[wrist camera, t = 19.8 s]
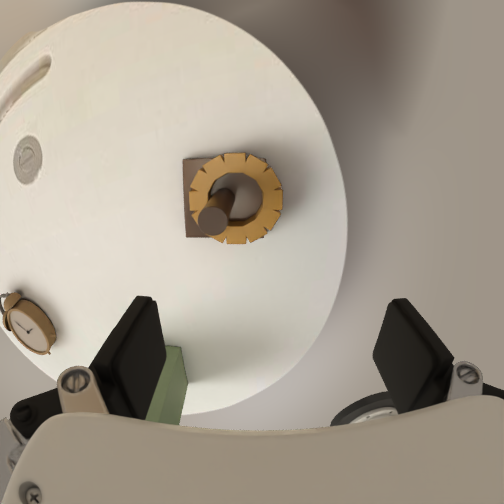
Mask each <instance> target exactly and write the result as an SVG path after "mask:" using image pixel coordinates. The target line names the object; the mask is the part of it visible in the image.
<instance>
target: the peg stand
mask: <svg viewBox="0 0 504 504" xmlns="http://www.w3.org/2000/svg"><path fill="white" fill-rule="evenodd" d="M212 159H214V158H196V159H183V191H184V213H185V230H186V237H210V236H216V235H219V234H221V233H222V232H224V231H225V229H226V227H227V224H228V221H245V220H247V219H249V218H250V217H252V216H254V215H256V213H257V211H258V210H259V208H260V206H261V205H262V190H261V188H260V187H259V185H258V183H257V181H256V180H255V179H253V178H251V177H249V176H248V175H246V174H244V173H227V174H225V175H223V176H222V177H220V178H218V179H217V180H216V181H215V183H214V185H213V187H212V189H211V198H210V200H209V201H208V202H207V204H206V205H205V206H204V208H203V209H202V210H201V212H200V213H199V215H198V219H197V222H198V224H197V223H196V221H195V220H194V218H193V217H192V214H193V213H194V211H190V202H189V191H190V190H192V189H193V188H191V187H190V186H191V184H192V182H193V180H194V178H195V176H196V174H197V172H198V170H199V169H201V168H203V165H204V164H206V163H207V162H209V161H210V160H212ZM259 159H260V160H262V161H264V162H266V159H265V158H259ZM246 160H247V158H246ZM206 234H207V235H206ZM208 235H210V236H208ZM211 238H212V237H211ZM260 238H264V236H262V237H260Z"/></svg>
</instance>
